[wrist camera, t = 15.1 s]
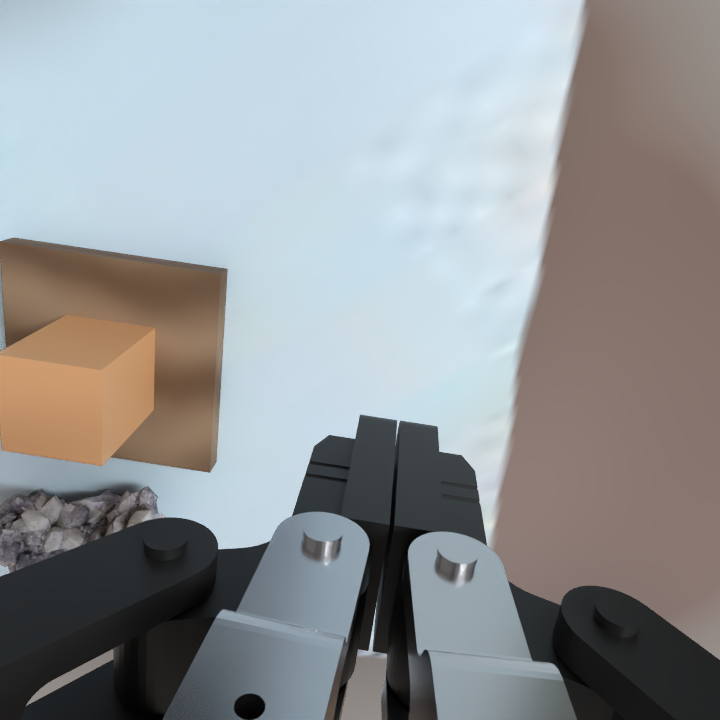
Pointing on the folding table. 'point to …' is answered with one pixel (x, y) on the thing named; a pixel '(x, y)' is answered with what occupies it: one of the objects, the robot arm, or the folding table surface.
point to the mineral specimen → (66, 523)
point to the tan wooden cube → (76, 389)
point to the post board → (143, 308)
